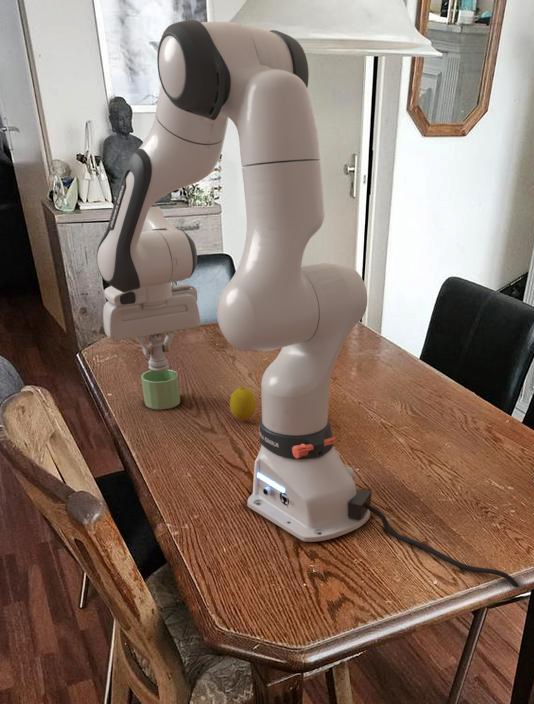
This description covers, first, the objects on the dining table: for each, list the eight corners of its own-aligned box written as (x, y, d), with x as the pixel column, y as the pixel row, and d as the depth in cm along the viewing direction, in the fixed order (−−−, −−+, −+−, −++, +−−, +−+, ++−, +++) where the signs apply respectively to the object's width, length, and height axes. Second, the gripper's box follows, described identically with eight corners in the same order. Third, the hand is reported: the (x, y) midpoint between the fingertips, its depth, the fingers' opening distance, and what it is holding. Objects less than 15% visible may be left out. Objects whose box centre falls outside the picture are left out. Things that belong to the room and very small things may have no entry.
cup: (186, 404, 143) (183, 377, 139) (152, 412, 139) (149, 385, 135) (172, 392, 148) (169, 366, 145) (139, 399, 144) (135, 373, 141)
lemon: (235, 414, 139) (233, 380, 135) (259, 417, 139) (258, 383, 134) (227, 424, 135) (225, 390, 131) (251, 428, 134) (250, 393, 130)
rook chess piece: (157, 374, 137) (153, 338, 132) (144, 368, 139) (139, 333, 135) (173, 368, 140) (170, 333, 135) (160, 363, 142) (156, 328, 138)
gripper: (189, 279, 137) (194, 340, 145) (95, 291, 127) (106, 356, 134) (202, 286, 133) (207, 348, 140) (106, 299, 123) (116, 366, 130)
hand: (157, 352), depth 137 cm, fingers closed on rook chess piece, 3 cm apart
